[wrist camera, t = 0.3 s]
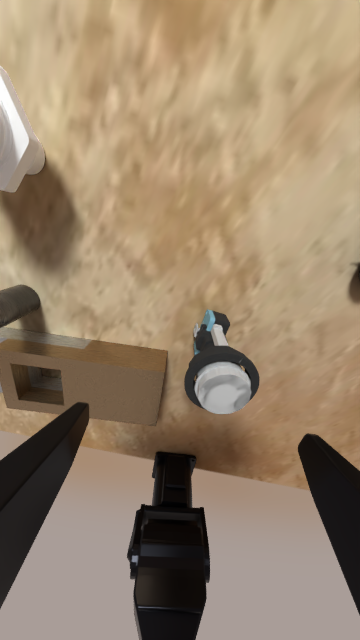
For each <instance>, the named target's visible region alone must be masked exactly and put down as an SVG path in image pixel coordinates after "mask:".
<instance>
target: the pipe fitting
mask: <svg viewBox="0 0 360 640" xmlns="http://www.w3.org/2000/svg"><path fill="white" fill-rule="evenodd" d="M44 163H45V153H44V149H43V146H42V144H41V142H40V140H39V139H38V138H37V136H36V135H35V134H34V131H33V129H32V127H31V125H30V122H29V120H28V118H27V116H26V113H25V111H24V109H23V107H22V104H21V102H20V100H19V98H18V95H17V93H16V91H15V89H14V86H13V84H12V82H11V80H10V77H9V75H8V74H7V72H6V71H5V70H4V69H3V68H2V67H1V66H0V190H2V191H6V192H10V193H14V192H16V191H17V189H18V187H19V185H20V183H21V181H22V180H23V178H24V176H25V174H29V175H34V174H37V173H39V172H40V171H41V170H42V168H43V166H44Z"/></svg>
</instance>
